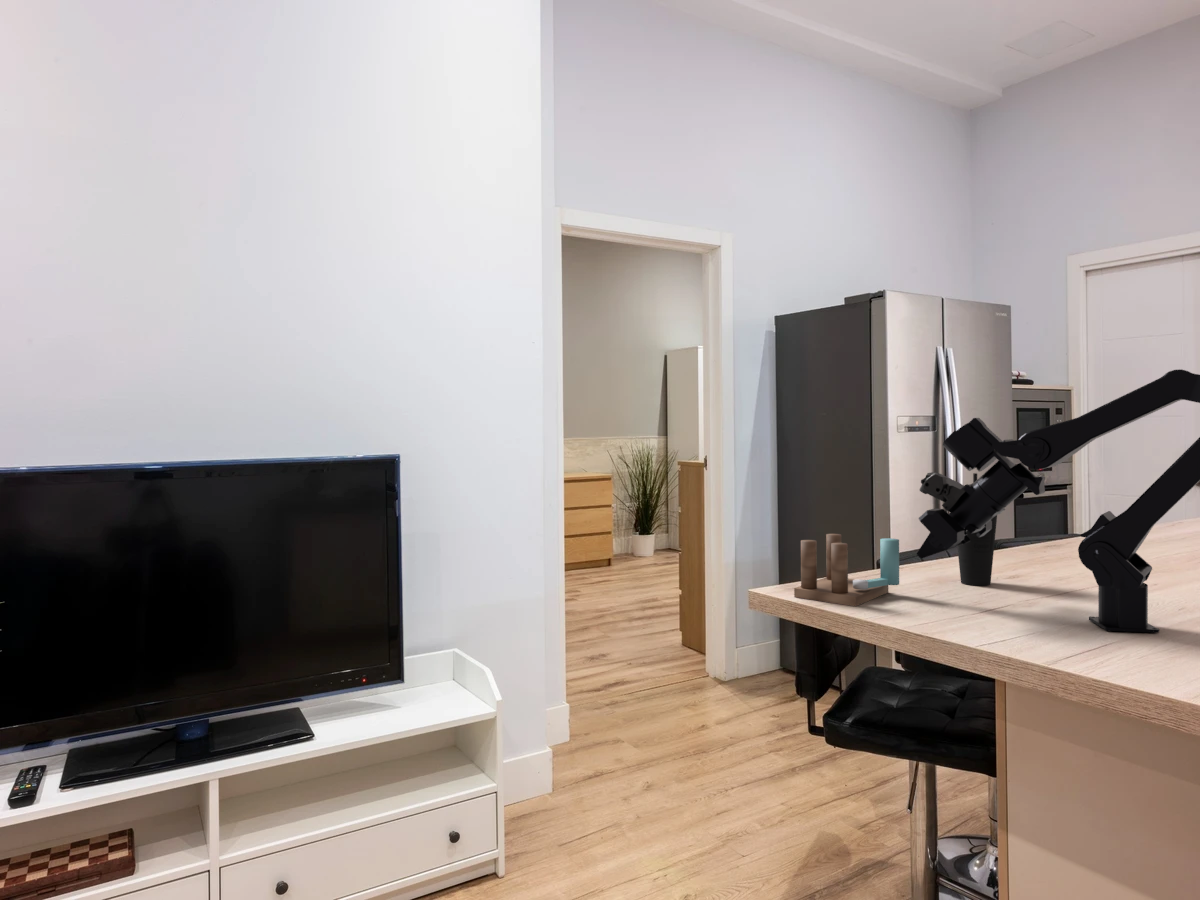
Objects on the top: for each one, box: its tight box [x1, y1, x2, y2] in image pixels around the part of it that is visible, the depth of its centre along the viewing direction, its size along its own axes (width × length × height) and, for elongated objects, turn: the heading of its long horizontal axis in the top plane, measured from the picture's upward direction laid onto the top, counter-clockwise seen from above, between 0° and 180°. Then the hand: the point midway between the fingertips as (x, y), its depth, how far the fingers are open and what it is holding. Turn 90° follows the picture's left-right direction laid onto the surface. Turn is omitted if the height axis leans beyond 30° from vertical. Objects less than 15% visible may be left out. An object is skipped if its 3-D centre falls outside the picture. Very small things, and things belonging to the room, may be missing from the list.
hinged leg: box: [853, 537, 900, 590], centre depth 127 cm, size 10×3×8 cm, turn 118°
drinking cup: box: [956, 472, 998, 587], centre depth 137 cm, size 8×8×20 cm
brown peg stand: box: [793, 533, 889, 607], centre depth 130 cm, size 11×13×10 cm
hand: (919, 556), depth 125 cm, fingers closed
